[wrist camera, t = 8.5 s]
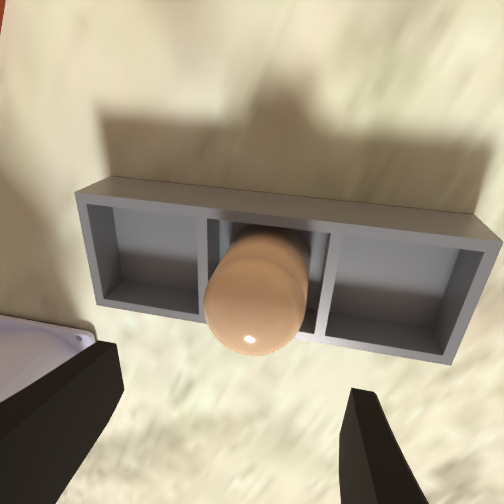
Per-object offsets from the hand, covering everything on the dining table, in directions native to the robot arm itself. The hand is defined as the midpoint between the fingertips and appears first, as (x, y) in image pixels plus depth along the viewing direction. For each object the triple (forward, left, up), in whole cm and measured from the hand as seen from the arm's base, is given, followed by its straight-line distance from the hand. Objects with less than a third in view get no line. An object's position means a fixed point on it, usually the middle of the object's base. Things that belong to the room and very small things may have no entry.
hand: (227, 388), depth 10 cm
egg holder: (0, 0, -9) cm, 9 cm away
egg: (0, 0, -8) cm, 8 cm away
